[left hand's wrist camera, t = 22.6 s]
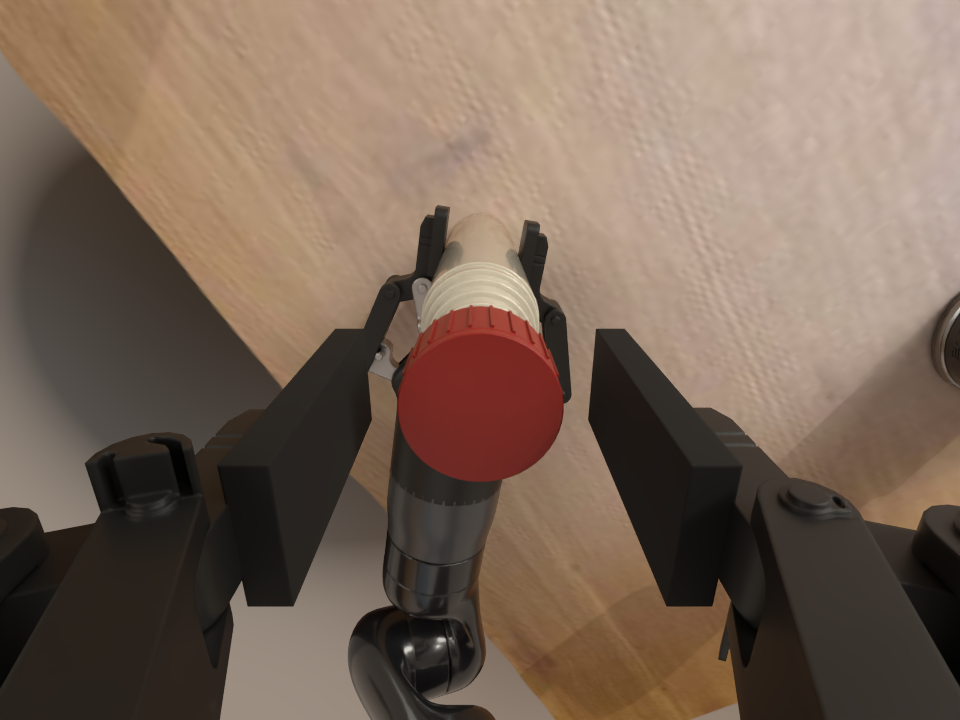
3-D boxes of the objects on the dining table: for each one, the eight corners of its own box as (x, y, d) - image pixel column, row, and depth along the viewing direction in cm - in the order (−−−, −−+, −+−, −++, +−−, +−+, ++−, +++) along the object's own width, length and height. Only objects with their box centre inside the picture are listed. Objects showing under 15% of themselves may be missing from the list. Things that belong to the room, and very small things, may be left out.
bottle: (519, 223, 35) (592, 338, 12) (501, 284, 36) (537, 486, 14) (457, 206, 34) (413, 291, 12) (442, 269, 36) (378, 450, 13)
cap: (535, 287, 13) (546, 311, 11) (565, 420, 15) (579, 464, 12) (388, 324, 14) (371, 354, 11) (431, 449, 15) (423, 498, 13)
